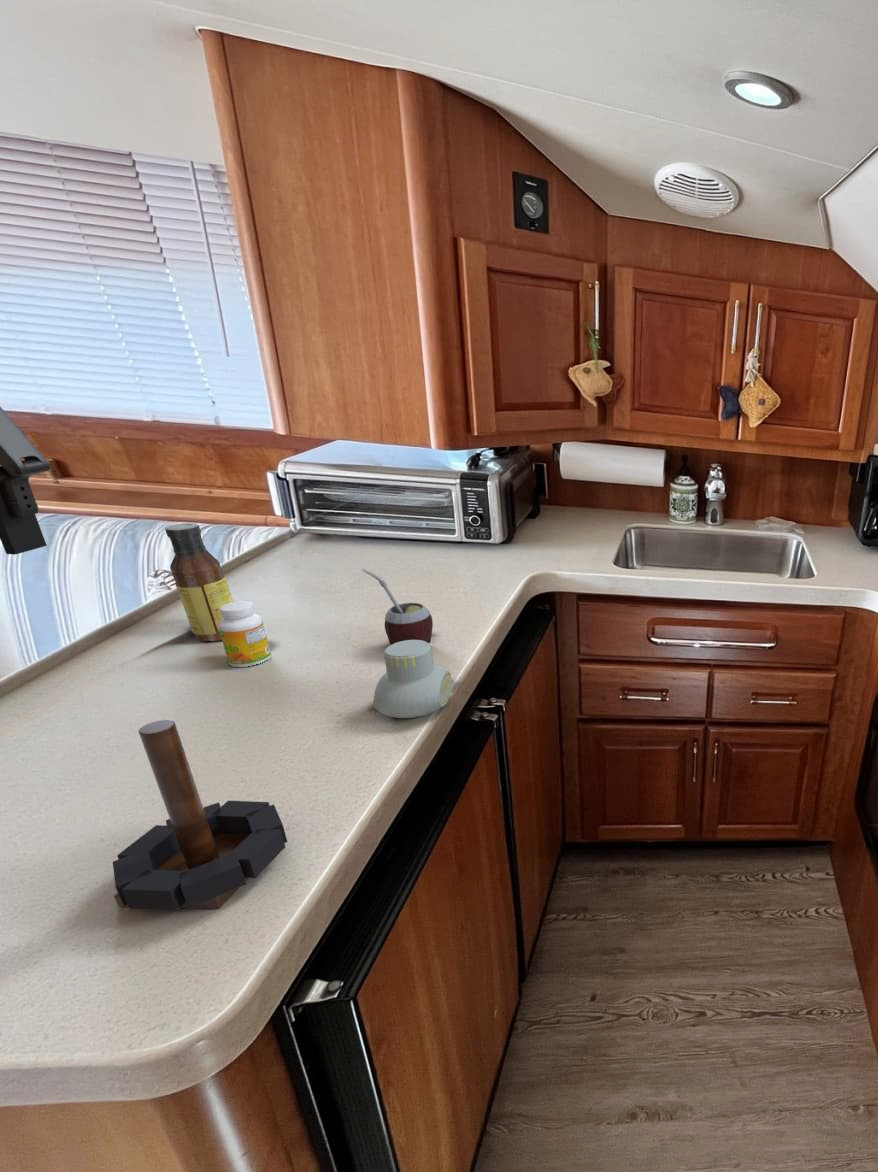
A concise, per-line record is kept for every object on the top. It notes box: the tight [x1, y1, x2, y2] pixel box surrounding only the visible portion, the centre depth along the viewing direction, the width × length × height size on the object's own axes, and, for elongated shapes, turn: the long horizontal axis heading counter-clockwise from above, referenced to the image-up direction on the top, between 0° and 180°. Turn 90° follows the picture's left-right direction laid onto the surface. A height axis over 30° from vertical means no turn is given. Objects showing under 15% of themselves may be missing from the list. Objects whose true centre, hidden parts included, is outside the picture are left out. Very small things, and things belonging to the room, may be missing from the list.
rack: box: [113, 719, 250, 910], centre depth 61 cm, size 9×9×18 cm
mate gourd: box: [361, 568, 434, 645], centre depth 108 cm, size 8×8×15 cm
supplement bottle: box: [218, 600, 272, 668], centre depth 101 cm, size 5×5×10 cm
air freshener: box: [373, 640, 452, 719], centre depth 93 cm, size 11×8×10 cm
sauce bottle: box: [164, 522, 234, 643], centre depth 106 cm, size 6×6×20 cm
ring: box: [112, 800, 288, 911], centre depth 64 cm, size 12×12×2 cm
